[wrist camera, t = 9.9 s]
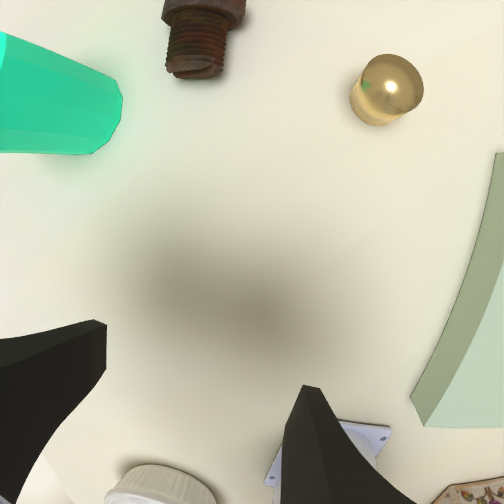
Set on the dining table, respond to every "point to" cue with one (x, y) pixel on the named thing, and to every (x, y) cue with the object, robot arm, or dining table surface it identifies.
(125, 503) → the ramekin
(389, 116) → the short pin
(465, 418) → the collar plate
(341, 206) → the dining table surface
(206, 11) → the bolt
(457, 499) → the decorative jar
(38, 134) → the candle
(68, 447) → the dining table surface
